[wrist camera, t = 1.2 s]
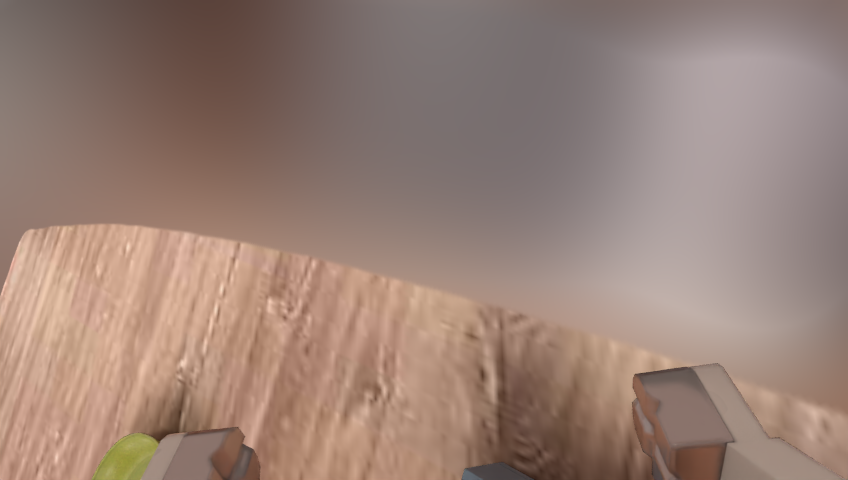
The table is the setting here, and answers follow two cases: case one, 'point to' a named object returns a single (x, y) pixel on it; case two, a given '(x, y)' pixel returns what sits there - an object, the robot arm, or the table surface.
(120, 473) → the saucer
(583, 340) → the table surface
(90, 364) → the table surface
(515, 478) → the tray
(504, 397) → the table surface
